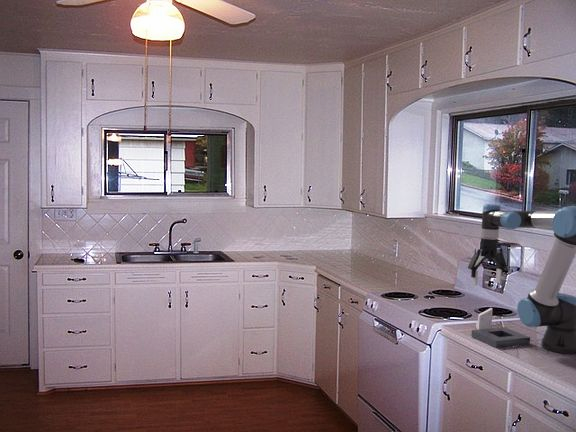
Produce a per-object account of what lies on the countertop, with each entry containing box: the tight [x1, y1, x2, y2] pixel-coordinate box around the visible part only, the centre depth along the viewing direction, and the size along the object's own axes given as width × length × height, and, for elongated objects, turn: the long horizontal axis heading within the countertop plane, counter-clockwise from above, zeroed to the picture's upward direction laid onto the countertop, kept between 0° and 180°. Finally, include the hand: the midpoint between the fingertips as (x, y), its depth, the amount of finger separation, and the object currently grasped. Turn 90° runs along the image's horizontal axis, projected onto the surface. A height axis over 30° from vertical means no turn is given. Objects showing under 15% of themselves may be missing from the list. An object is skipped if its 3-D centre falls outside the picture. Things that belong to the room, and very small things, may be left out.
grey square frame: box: [471, 326, 531, 349], centre depth 267 cm, size 16×18×3 cm
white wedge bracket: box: [475, 307, 493, 330], centre depth 284 cm, size 4×10×9 cm, turn 92°
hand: (486, 283), depth 282 cm, fingers open, 13 cm apart
